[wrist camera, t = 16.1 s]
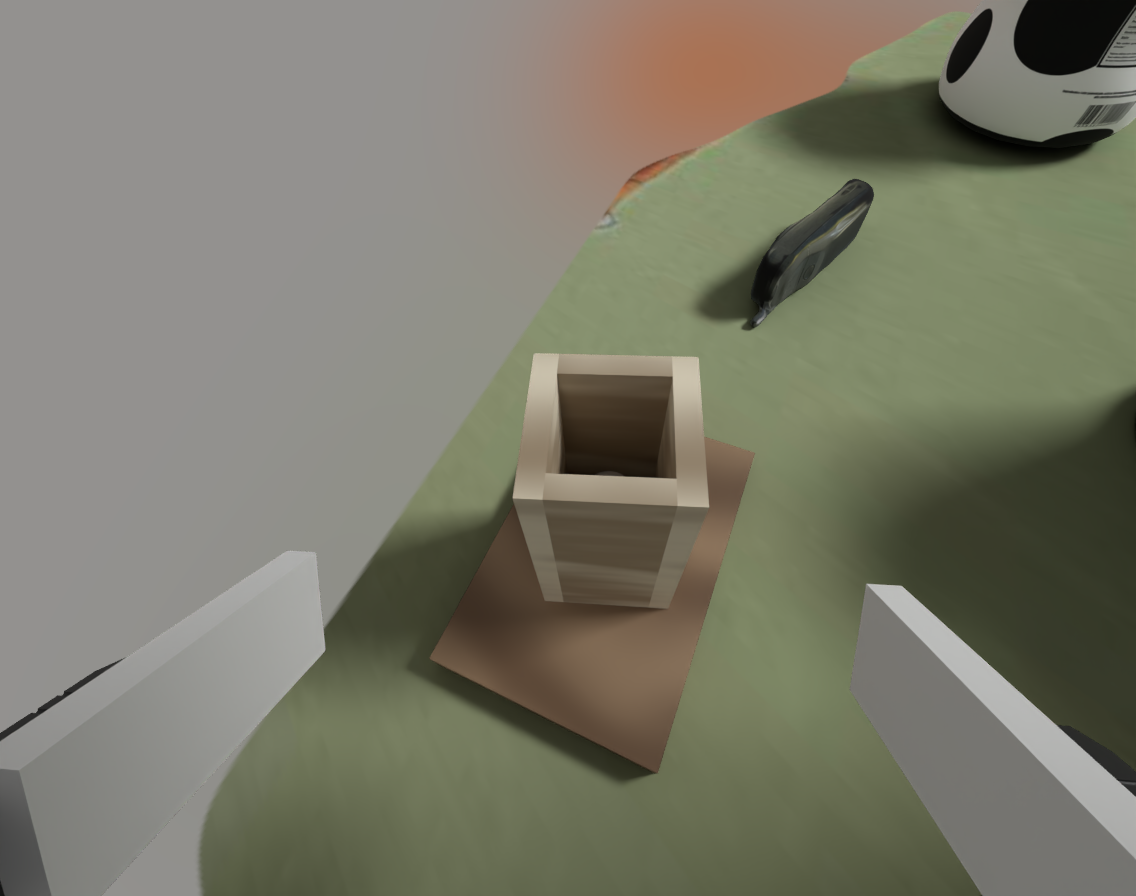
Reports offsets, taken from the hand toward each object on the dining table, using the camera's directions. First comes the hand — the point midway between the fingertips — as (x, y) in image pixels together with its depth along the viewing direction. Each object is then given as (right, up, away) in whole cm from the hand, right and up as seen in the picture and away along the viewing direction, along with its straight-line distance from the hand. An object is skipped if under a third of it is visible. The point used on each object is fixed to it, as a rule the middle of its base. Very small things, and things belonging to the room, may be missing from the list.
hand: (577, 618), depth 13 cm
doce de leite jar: (+45, +37, +40) cm, 71 cm away
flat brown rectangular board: (+2, -2, +18) cm, 18 cm away
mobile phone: (+18, +18, +30) cm, 39 cm away
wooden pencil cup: (+2, -1, +16) cm, 16 cm away
